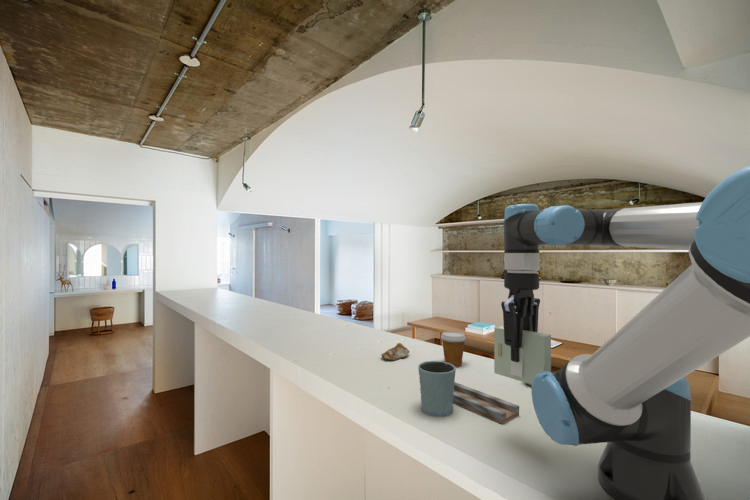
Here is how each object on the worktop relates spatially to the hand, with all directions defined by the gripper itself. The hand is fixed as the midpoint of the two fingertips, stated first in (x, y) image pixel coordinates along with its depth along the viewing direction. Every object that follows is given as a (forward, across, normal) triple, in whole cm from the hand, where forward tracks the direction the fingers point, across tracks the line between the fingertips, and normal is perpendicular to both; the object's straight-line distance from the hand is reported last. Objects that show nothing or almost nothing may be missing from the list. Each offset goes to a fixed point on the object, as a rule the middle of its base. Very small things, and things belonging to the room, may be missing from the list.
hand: (521, 373), depth 79 cm
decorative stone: (+16, -21, -66) cm, 71 cm away
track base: (+16, -8, -19) cm, 26 cm away
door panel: (+1, 0, 0) cm, 1 cm away
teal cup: (+16, +3, -23) cm, 28 cm away
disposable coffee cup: (+16, -32, -45) cm, 58 cm away
